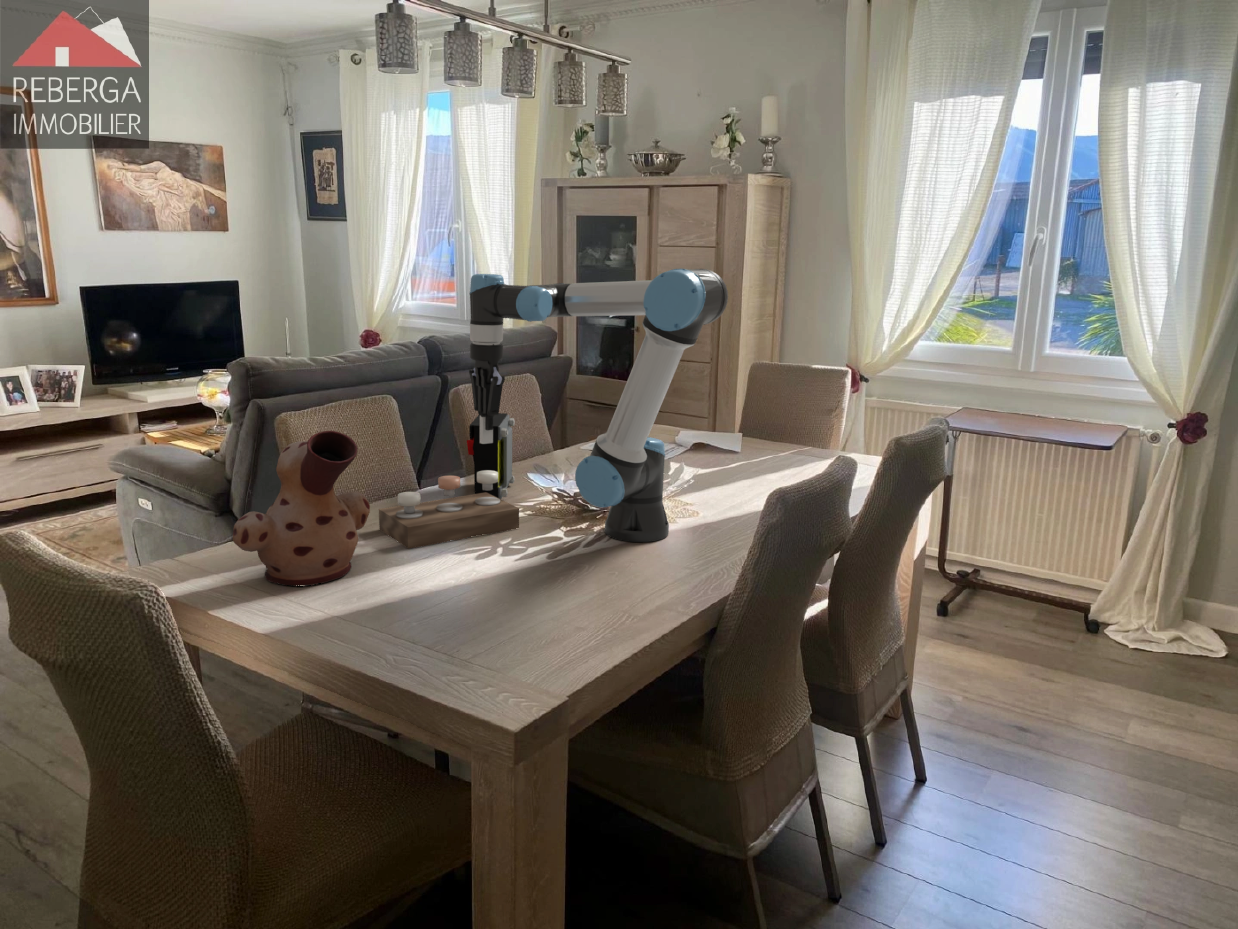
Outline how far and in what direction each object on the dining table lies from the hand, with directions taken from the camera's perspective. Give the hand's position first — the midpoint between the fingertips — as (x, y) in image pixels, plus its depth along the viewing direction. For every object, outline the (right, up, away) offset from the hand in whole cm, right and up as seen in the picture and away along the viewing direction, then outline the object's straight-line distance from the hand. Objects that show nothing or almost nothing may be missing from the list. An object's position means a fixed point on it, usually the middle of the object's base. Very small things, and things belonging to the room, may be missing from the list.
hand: (486, 442), depth 218 cm
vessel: (-29, -28, -32) cm, 52 cm away
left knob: (-16, -16, -9) cm, 24 cm away
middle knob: (-8, -12, -3) cm, 15 cm away
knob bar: (-8, -20, -1) cm, 22 cm away
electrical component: (-3, -13, +31) cm, 33 cm away
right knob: (0, -11, +3) cm, 11 cm away
